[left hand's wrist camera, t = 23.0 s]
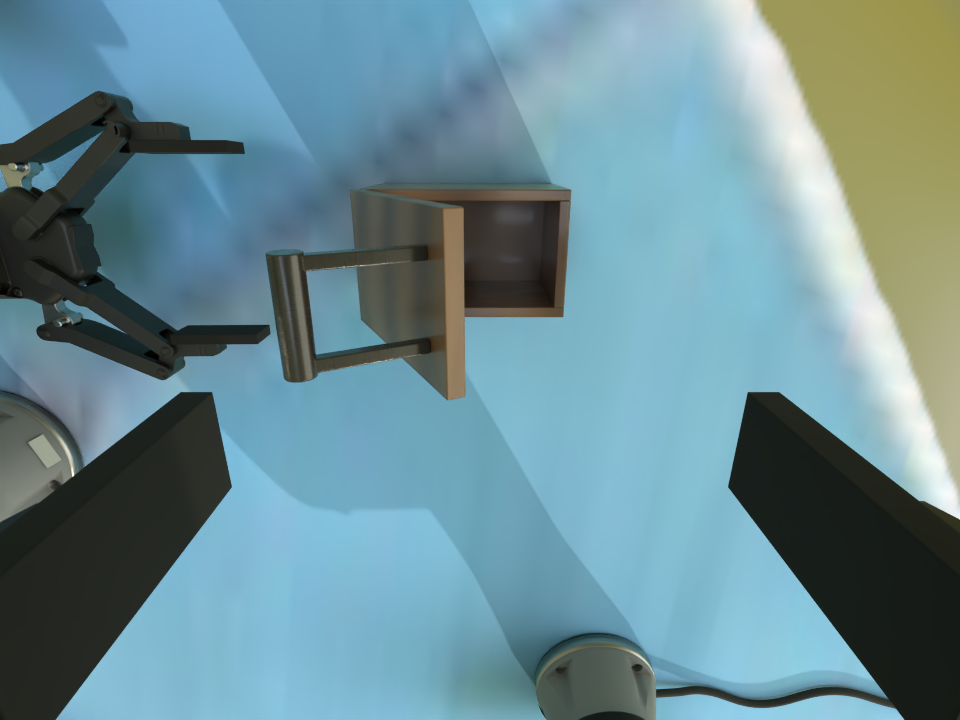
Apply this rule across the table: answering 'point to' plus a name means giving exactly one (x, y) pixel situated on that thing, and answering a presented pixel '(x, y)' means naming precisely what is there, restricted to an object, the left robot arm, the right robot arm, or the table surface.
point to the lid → (384, 291)
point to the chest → (506, 243)
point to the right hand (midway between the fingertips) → (251, 246)
